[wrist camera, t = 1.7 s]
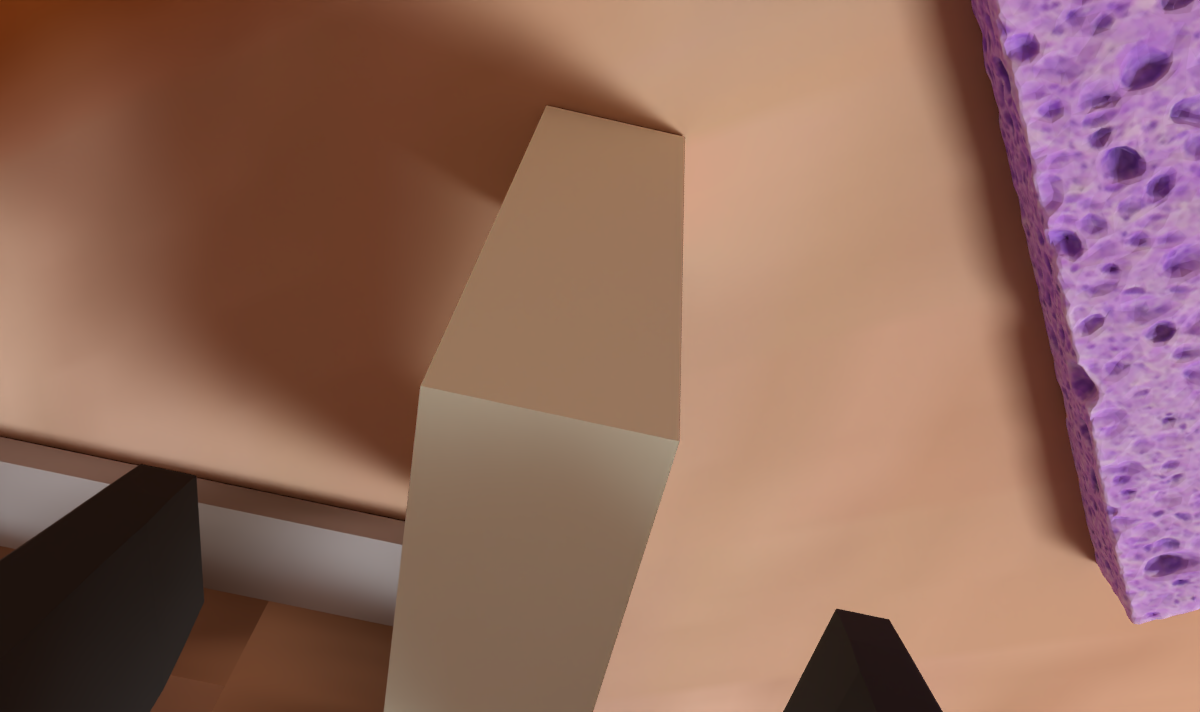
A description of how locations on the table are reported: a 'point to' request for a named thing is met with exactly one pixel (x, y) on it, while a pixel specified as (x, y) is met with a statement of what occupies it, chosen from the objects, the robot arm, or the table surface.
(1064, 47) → the sponges
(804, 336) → the table surface
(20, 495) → the slotted base
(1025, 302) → the table surface
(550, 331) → the cream h-shaped block
